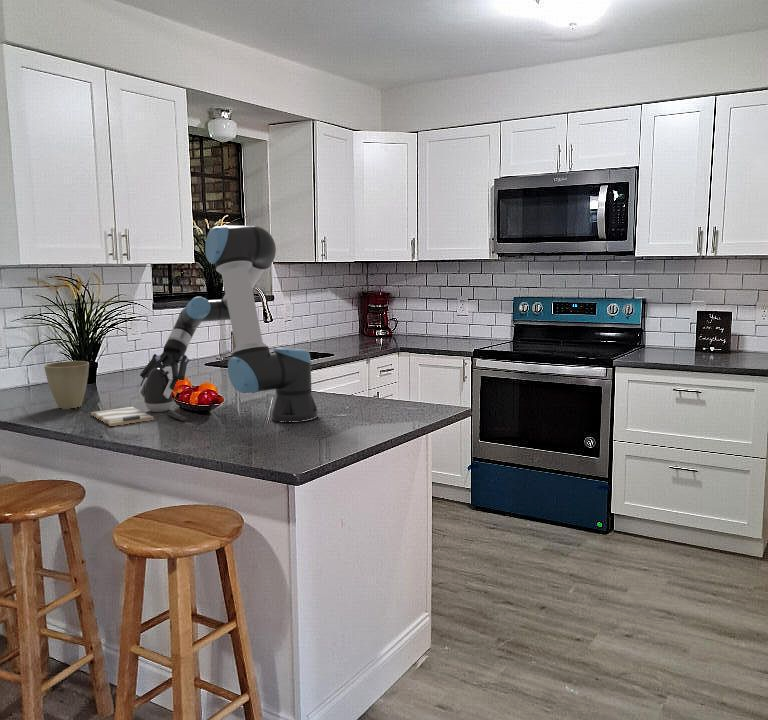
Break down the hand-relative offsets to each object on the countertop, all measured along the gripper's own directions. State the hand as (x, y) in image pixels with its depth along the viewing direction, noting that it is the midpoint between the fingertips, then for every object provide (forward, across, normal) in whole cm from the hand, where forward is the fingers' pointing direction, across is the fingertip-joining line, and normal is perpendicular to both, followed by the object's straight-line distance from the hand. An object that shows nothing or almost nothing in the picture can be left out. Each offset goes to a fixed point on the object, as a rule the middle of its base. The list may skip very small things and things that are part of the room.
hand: (153, 395), depth 256 cm
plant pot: (+4, +36, -5) cm, 37 cm away
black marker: (+8, -13, 0) cm, 16 cm away
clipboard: (+11, +5, +3) cm, 13 cm away
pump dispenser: (+2, 0, -6) cm, 7 cm away
